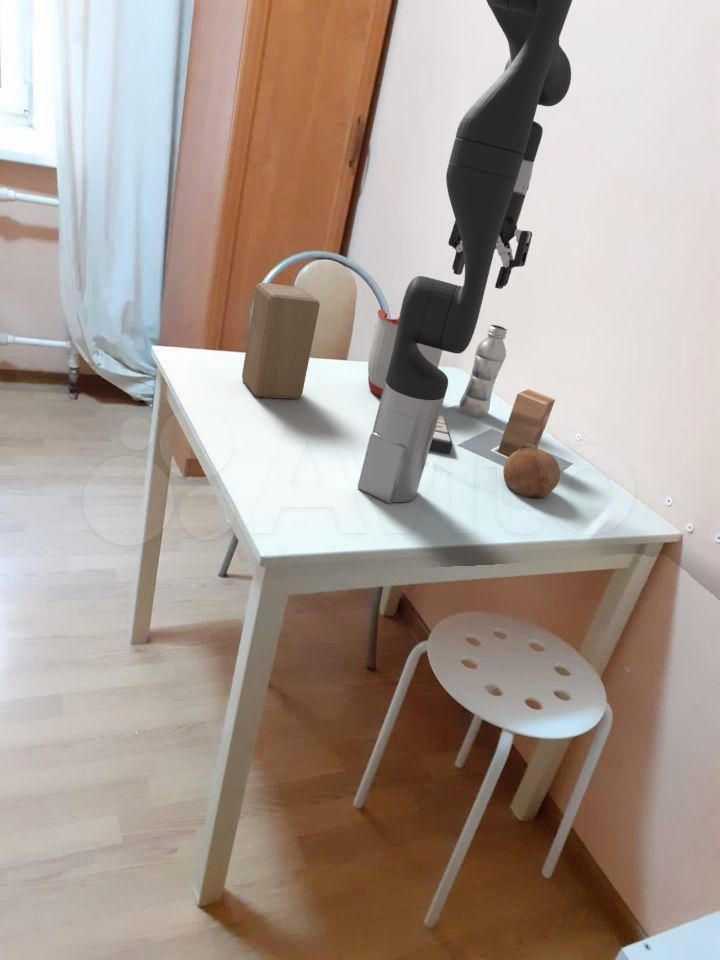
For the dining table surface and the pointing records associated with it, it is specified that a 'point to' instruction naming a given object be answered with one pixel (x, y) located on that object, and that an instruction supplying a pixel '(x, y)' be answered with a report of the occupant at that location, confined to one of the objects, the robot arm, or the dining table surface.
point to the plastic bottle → (484, 373)
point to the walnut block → (517, 439)
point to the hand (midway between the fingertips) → (477, 281)
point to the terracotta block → (531, 411)
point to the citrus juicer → (389, 352)
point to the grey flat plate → (489, 446)
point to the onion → (531, 472)
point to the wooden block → (279, 340)
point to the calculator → (441, 438)
